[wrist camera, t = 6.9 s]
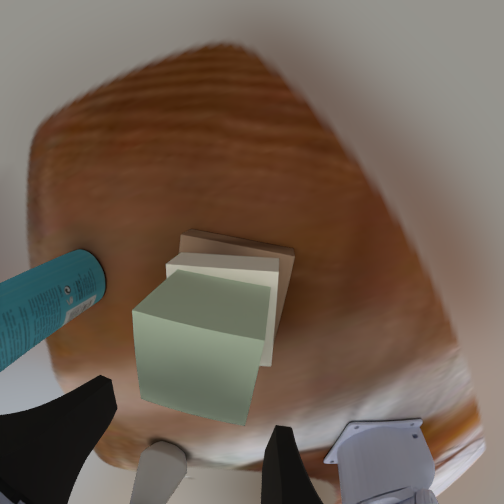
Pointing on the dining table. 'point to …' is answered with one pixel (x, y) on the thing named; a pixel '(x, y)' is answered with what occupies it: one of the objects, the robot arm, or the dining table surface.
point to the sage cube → (201, 344)
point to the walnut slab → (242, 247)
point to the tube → (46, 301)
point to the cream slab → (238, 270)
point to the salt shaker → (158, 473)
